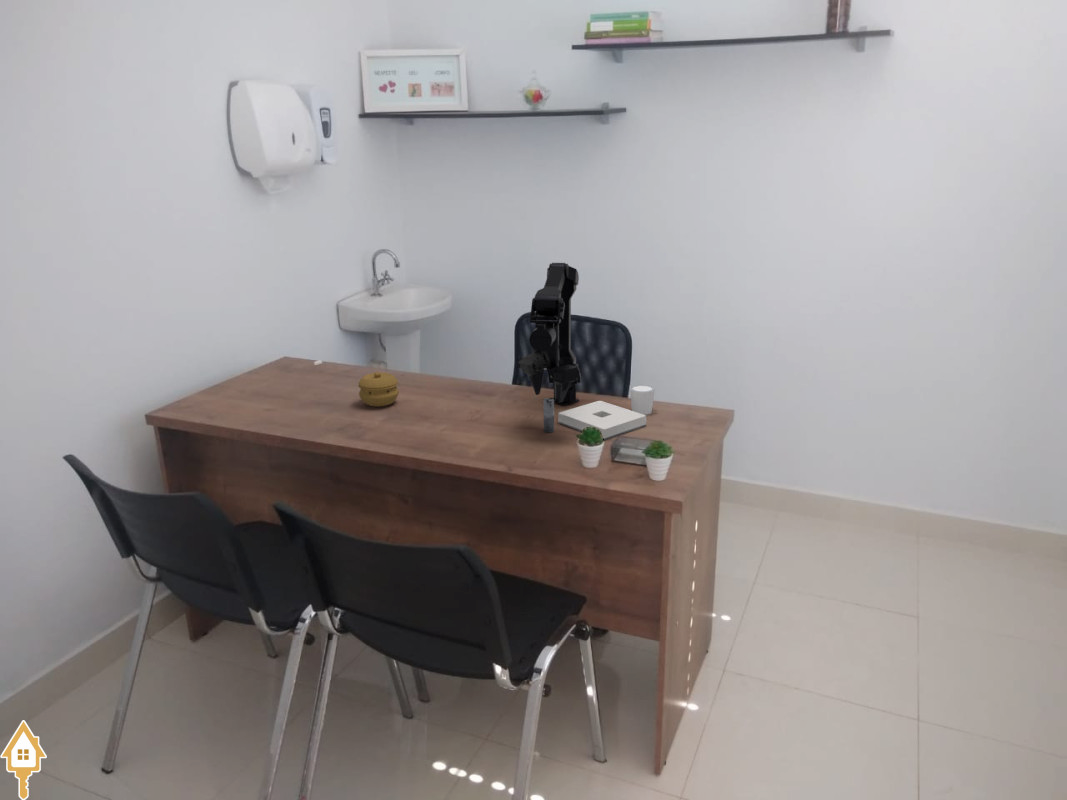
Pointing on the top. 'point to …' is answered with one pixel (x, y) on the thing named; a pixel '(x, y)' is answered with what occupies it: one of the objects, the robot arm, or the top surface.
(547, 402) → the steel pin
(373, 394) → the pot
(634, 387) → the white cup
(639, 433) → the top surface
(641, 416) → the bore board
